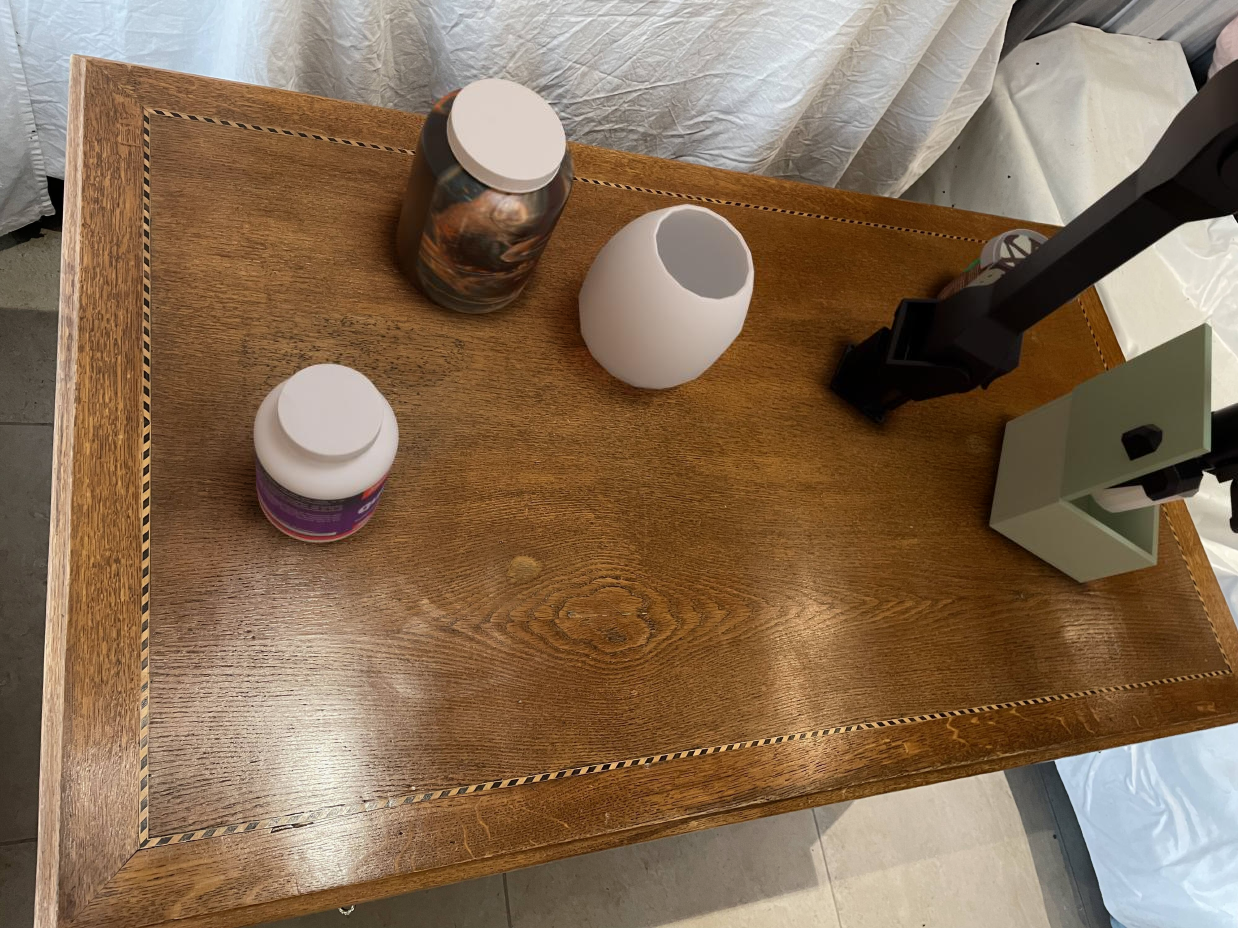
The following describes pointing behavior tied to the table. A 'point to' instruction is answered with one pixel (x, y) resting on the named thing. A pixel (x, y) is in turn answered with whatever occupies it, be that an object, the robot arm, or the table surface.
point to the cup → (666, 296)
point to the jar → (483, 195)
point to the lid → (1140, 414)
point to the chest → (1064, 504)
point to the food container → (997, 260)
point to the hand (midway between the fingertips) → (1119, 479)
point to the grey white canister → (1131, 498)
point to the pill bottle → (323, 452)
